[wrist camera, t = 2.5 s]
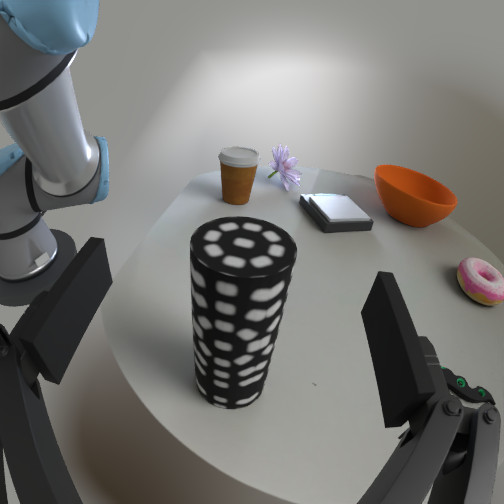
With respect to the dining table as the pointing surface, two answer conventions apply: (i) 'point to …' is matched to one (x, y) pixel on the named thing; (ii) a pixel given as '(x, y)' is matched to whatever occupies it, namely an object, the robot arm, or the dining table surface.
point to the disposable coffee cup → (238, 173)
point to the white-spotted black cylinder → (237, 305)
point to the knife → (466, 388)
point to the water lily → (284, 166)
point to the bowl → (413, 196)
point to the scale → (335, 213)
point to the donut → (481, 281)
